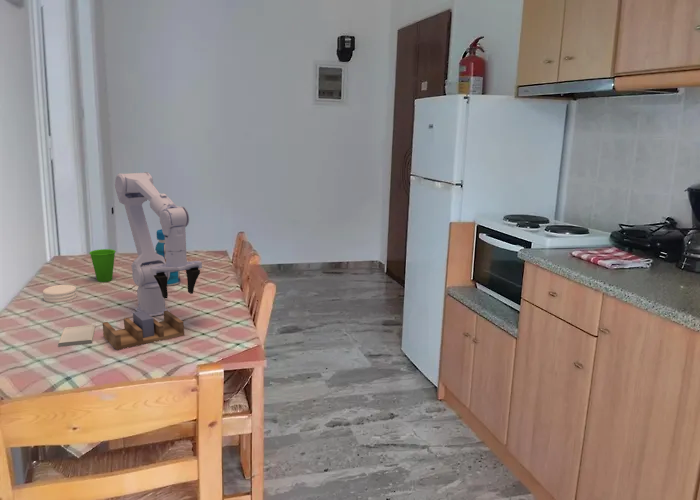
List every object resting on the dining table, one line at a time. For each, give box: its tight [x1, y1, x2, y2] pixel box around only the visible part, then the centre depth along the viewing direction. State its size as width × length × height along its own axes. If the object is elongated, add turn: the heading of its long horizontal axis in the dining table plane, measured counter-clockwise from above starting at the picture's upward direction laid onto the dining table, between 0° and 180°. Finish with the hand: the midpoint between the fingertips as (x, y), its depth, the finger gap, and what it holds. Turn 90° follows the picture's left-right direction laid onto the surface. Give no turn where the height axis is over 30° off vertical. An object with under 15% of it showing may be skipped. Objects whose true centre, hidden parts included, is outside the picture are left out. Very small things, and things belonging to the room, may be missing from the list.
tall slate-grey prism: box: [132, 311, 154, 338], centre depth 155 cm, size 8×3×5 cm, turn 39°
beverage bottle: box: [154, 228, 181, 287], centre depth 205 cm, size 8×8×20 cm
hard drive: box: [57, 324, 96, 348], centre depth 154 cm, size 2×8×12 cm
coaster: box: [42, 284, 78, 303], centre depth 187 cm, size 10×10×4 cm
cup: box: [89, 248, 117, 283], centre depth 208 cm, size 9×9×11 cm
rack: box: [102, 309, 185, 351], centre depth 156 cm, size 12×18×4 cm, turn 129°
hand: (178, 295), depth 162 cm, fingers open, 7 cm apart
